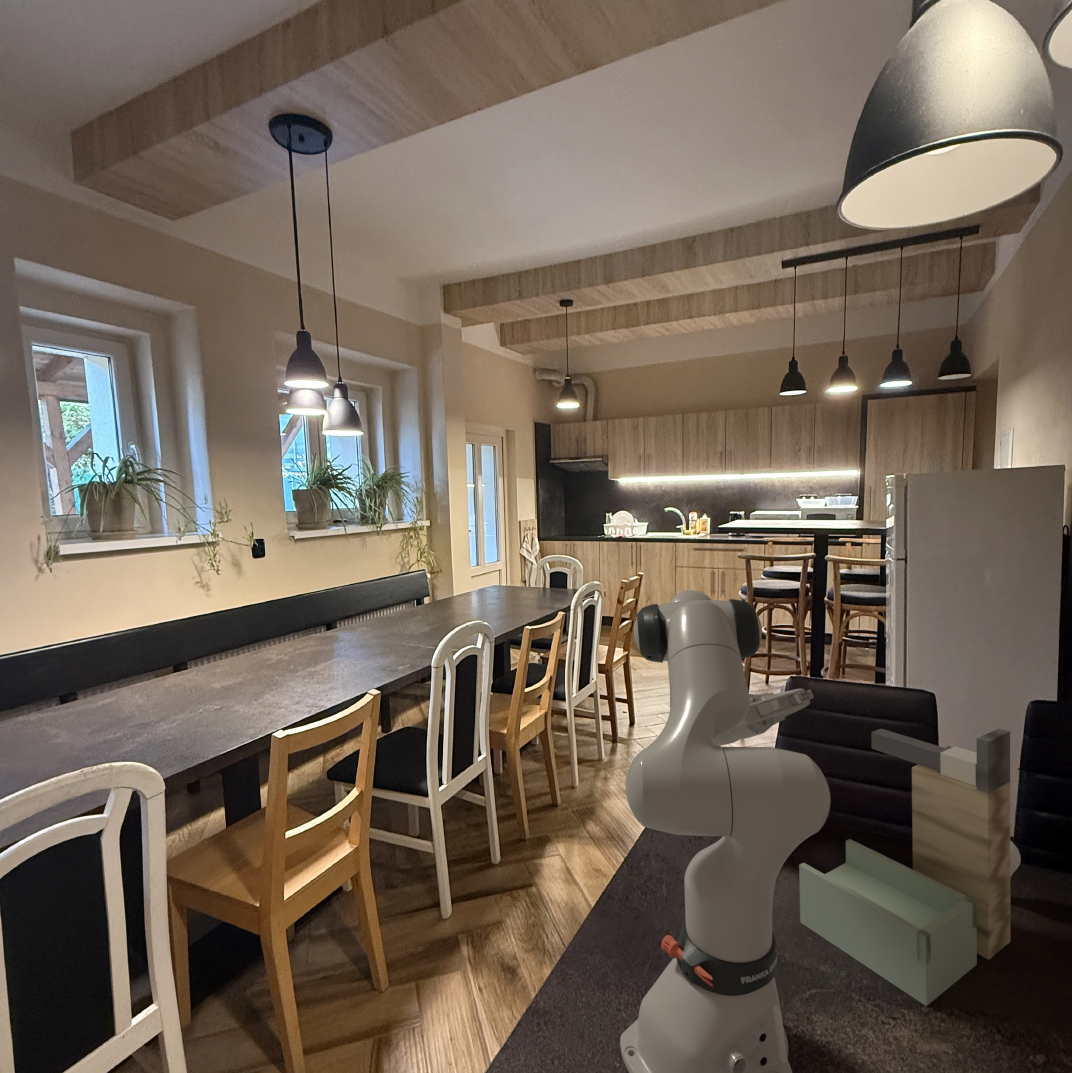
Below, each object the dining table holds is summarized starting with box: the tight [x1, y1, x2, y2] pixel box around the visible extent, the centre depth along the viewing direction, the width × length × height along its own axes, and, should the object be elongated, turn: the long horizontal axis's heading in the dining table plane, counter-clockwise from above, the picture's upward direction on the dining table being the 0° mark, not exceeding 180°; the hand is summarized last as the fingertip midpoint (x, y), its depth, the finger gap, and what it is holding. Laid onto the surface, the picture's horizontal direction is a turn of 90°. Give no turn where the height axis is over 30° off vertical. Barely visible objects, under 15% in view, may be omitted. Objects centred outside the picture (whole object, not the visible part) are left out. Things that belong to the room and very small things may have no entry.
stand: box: [911, 728, 1011, 961], centre depth 96 cm, size 7×11×34 cm, turn 30°
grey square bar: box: [870, 728, 977, 786], centre depth 100 cm, size 4×17×4 cm, turn 30°
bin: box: [798, 838, 978, 1007], centre depth 95 cm, size 14×20×10 cm
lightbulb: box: [1010, 840, 1022, 880], centre depth 104 cm, size 6×6×11 cm
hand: (795, 698), depth 122 cm, fingers open, 8 cm apart
